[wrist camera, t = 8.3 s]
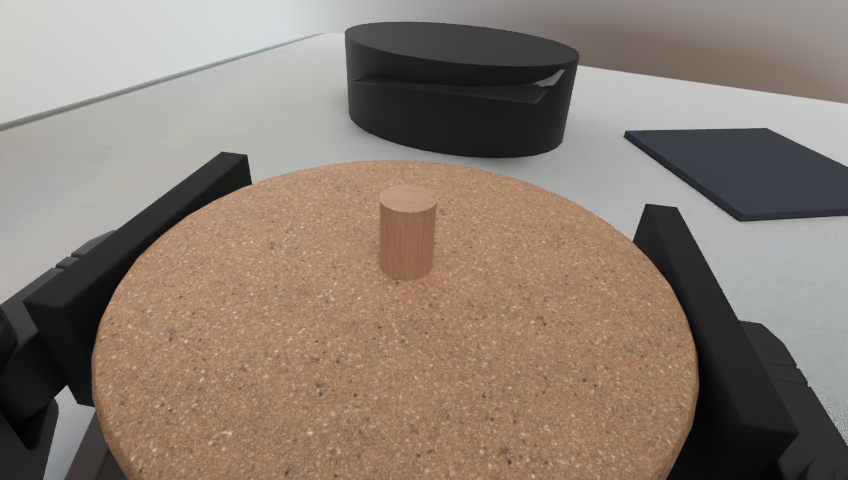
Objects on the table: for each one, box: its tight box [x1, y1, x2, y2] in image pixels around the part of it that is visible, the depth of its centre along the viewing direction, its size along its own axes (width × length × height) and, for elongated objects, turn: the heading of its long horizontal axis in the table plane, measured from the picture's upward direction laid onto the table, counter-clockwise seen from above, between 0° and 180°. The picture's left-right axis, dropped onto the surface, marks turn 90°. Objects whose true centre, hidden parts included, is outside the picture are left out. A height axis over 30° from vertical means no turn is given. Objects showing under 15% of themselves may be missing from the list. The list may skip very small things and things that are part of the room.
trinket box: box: [91, 161, 699, 480], centre depth 11 cm, size 11×11×9 cm
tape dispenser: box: [345, 22, 581, 158], centre depth 37 cm, size 14×18×8 cm
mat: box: [624, 128, 848, 221], centre depth 34 cm, size 13×13×1 cm
